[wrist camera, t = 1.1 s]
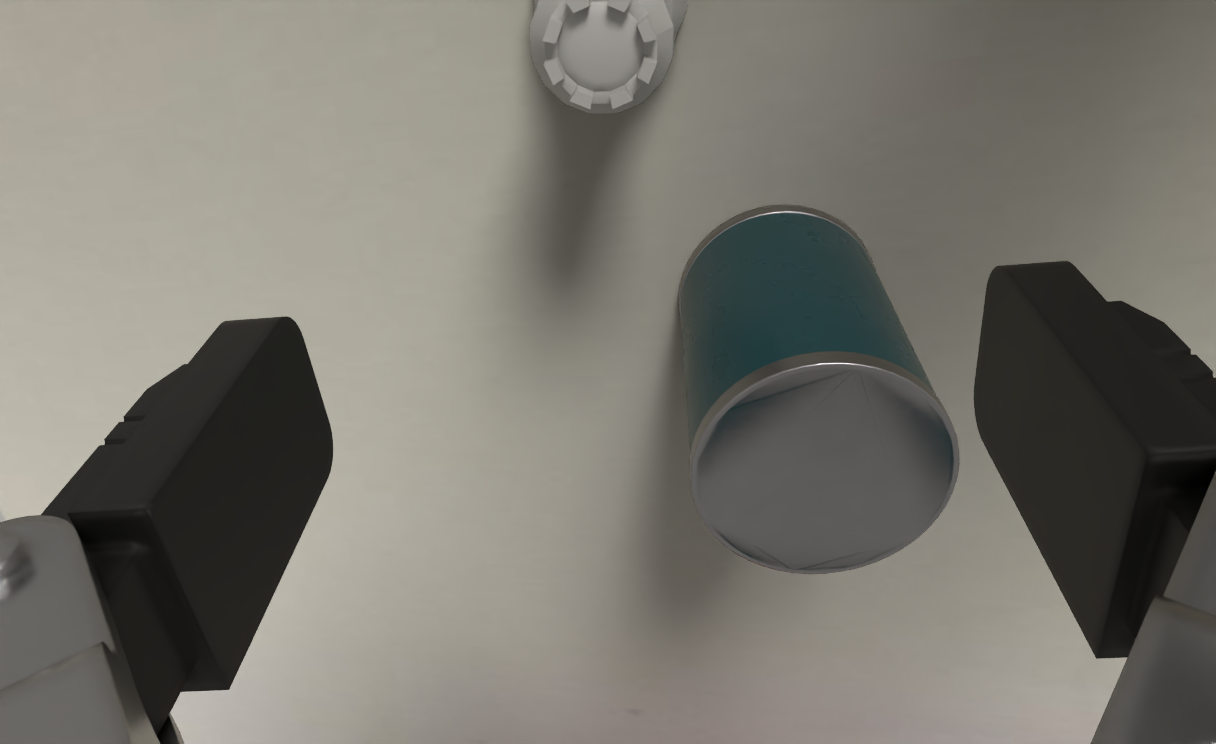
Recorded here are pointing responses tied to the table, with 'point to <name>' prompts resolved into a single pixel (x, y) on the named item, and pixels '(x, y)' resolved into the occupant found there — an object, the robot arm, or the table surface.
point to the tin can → (806, 398)
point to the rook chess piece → (604, 49)
